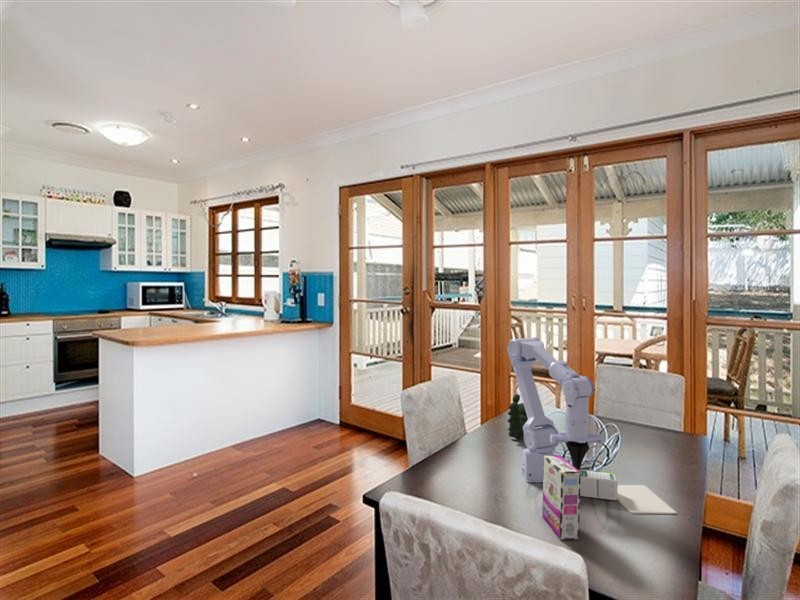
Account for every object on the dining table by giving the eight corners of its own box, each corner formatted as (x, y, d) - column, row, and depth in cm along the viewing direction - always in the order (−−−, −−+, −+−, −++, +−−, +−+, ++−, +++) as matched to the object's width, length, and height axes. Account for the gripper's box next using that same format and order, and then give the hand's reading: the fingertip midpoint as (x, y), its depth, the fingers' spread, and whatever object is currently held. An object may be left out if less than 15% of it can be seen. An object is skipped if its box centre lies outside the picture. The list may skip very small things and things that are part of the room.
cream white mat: (630, 513, 119) (630, 512, 119) (604, 486, 135) (604, 484, 135) (676, 514, 119) (676, 512, 119) (644, 486, 135) (644, 485, 135)
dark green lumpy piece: (526, 449, 169) (539, 424, 191) (525, 400, 167) (539, 381, 189) (501, 444, 174) (517, 421, 196) (500, 397, 172) (516, 379, 193)
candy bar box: (580, 540, 107) (581, 472, 106) (560, 541, 106) (561, 472, 106) (560, 515, 118) (561, 454, 117) (541, 516, 118) (542, 454, 117)
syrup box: (617, 480, 125) (561, 473, 130) (617, 501, 125) (561, 493, 130) (615, 472, 130) (561, 466, 135) (615, 492, 131) (561, 485, 135)
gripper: (556, 424, 122) (555, 473, 123) (609, 424, 122) (608, 474, 123) (547, 416, 129) (547, 463, 130) (598, 416, 129) (597, 463, 130)
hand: (576, 467), depth 127 cm, fingers closed
